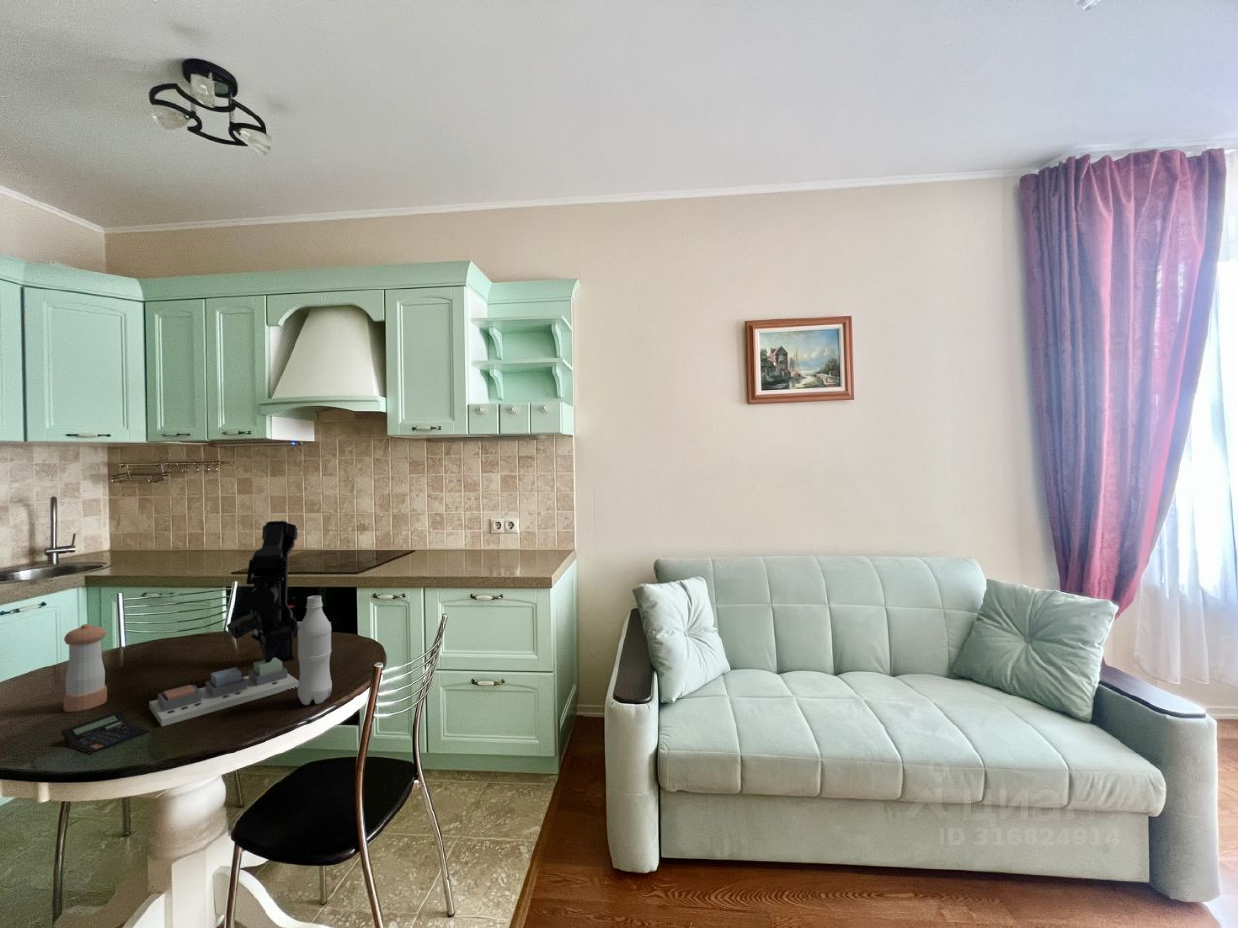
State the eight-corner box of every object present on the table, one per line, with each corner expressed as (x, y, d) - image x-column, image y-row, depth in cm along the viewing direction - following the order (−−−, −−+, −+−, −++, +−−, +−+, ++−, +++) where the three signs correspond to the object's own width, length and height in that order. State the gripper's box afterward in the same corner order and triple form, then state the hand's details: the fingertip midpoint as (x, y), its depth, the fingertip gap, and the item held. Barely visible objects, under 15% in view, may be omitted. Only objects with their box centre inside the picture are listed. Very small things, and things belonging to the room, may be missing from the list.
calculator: (91, 755, 105) (91, 740, 105) (61, 744, 110) (61, 729, 110) (148, 733, 114) (148, 719, 114) (118, 723, 118) (118, 710, 118)
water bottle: (338, 696, 131) (338, 594, 131) (313, 709, 124) (312, 601, 124) (316, 692, 133) (315, 592, 133) (290, 704, 126) (289, 599, 126)
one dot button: (275, 666, 142) (275, 657, 142) (282, 671, 139) (282, 661, 139) (253, 672, 138) (253, 662, 138) (260, 677, 135) (259, 667, 135)
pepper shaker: (73, 701, 129) (73, 622, 129) (112, 696, 132) (112, 618, 132) (56, 714, 122) (56, 630, 122) (97, 708, 125) (97, 626, 125)
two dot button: (235, 677, 135) (235, 667, 135) (241, 682, 132) (241, 672, 132) (211, 683, 131) (210, 673, 131) (216, 688, 128) (216, 678, 128)
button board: (279, 673, 146) (279, 660, 146) (298, 686, 137) (298, 672, 137) (149, 707, 125) (149, 692, 125) (161, 726, 116) (161, 709, 116)
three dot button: (190, 694, 128) (190, 684, 128) (195, 700, 125) (195, 690, 125) (163, 702, 125) (163, 691, 125) (168, 708, 121) (168, 697, 121)
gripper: (220, 602, 138) (220, 662, 138) (241, 615, 126) (242, 681, 126) (269, 594, 147) (269, 651, 147) (294, 605, 135) (294, 667, 135)
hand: (268, 662), depth 139 cm, fingers closed, pressing on one dot button
